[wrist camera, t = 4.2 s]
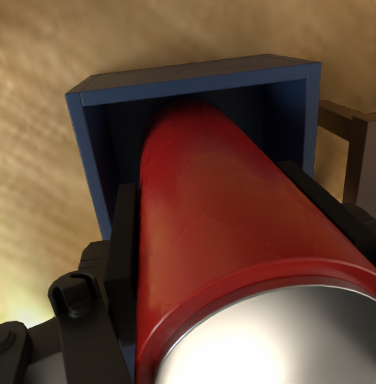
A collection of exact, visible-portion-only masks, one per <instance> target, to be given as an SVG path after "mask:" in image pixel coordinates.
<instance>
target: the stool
mask: <svg viewBox="0 0 376 384" xmlns="http://www.w3.org/2000/svg"><path fill="white" fill-rule="evenodd" d="M317 125H318V126H320V127H322V128H324V129H326V130H328V131H330V132H332V133H333V134H335V135H337V136H339V137H341V138H343V139H345V140H347V141H349V150H348V158H347V166H346V175H345V183H344V192H343V200H342V203H347V202H350V203H352V204H354V205H357V206H359V207H361V208H363V209H364V210H365V211H366V212H367V213H369V214H370V216H372V217H374V218H375V219H376V113H369V114H364V113H361V112H358V111H356V110H353V109H350V108H347V107H345V106H342V105H339V104H336V103H334V102H331V101H328V100H323V101H319V105H318V119H317Z"/></svg>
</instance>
